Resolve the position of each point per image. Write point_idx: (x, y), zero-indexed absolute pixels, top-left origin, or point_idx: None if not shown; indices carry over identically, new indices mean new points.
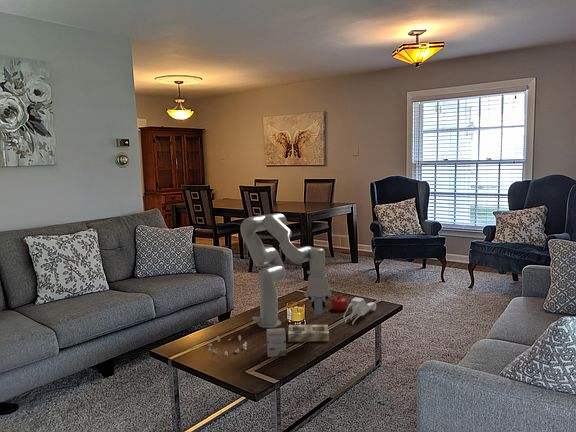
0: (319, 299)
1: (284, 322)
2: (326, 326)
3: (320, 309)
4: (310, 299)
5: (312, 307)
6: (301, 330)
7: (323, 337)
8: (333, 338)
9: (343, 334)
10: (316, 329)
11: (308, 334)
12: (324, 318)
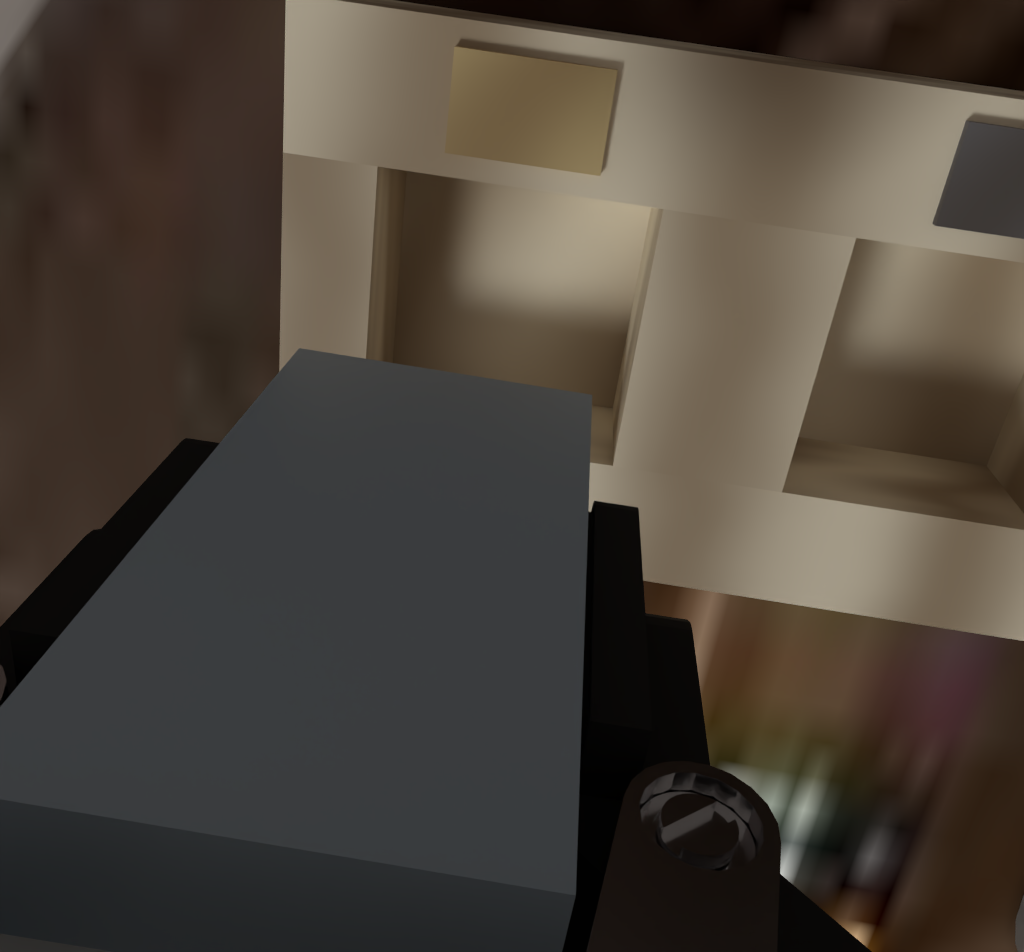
0: (192, 762)
1: (942, 928)
2: None
3: (330, 433)
4: (807, 948)
5: (653, 618)
6: (831, 466)
7: (442, 11)
8: (239, 129)
9: (45, 296)
10: None
11: (797, 64)
12: None
